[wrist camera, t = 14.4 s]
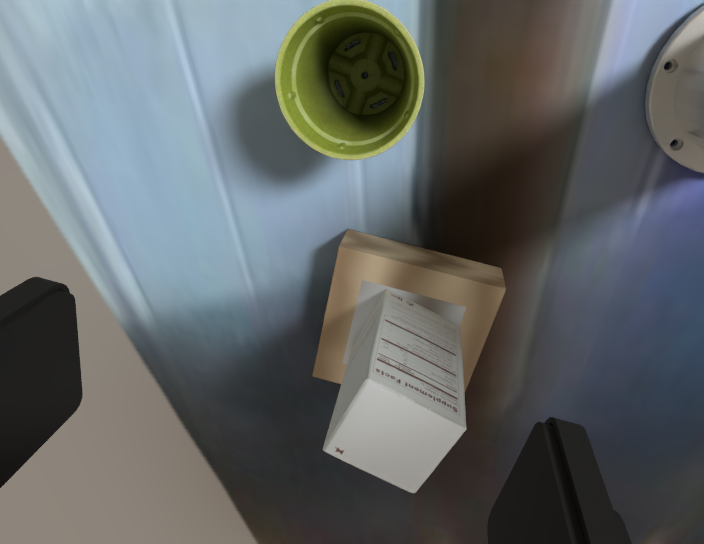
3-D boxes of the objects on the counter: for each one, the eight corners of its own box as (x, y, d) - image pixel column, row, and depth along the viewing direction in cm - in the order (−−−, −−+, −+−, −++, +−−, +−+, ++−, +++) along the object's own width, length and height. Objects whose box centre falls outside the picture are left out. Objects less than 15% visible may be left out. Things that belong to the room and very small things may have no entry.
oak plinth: (501, 268, 43) (506, 289, 40) (454, 388, 50) (455, 416, 46) (347, 229, 44) (338, 246, 40) (321, 352, 50) (312, 376, 47)
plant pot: (394, -22, 35) (380, -37, 27) (448, 102, 38) (448, 119, 30) (287, 46, 38) (246, 49, 31) (344, 155, 41) (320, 183, 34)
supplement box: (421, 382, 45) (413, 498, 34) (349, 347, 45) (317, 452, 33) (464, 323, 42) (470, 431, 30) (386, 284, 41) (364, 378, 30)
